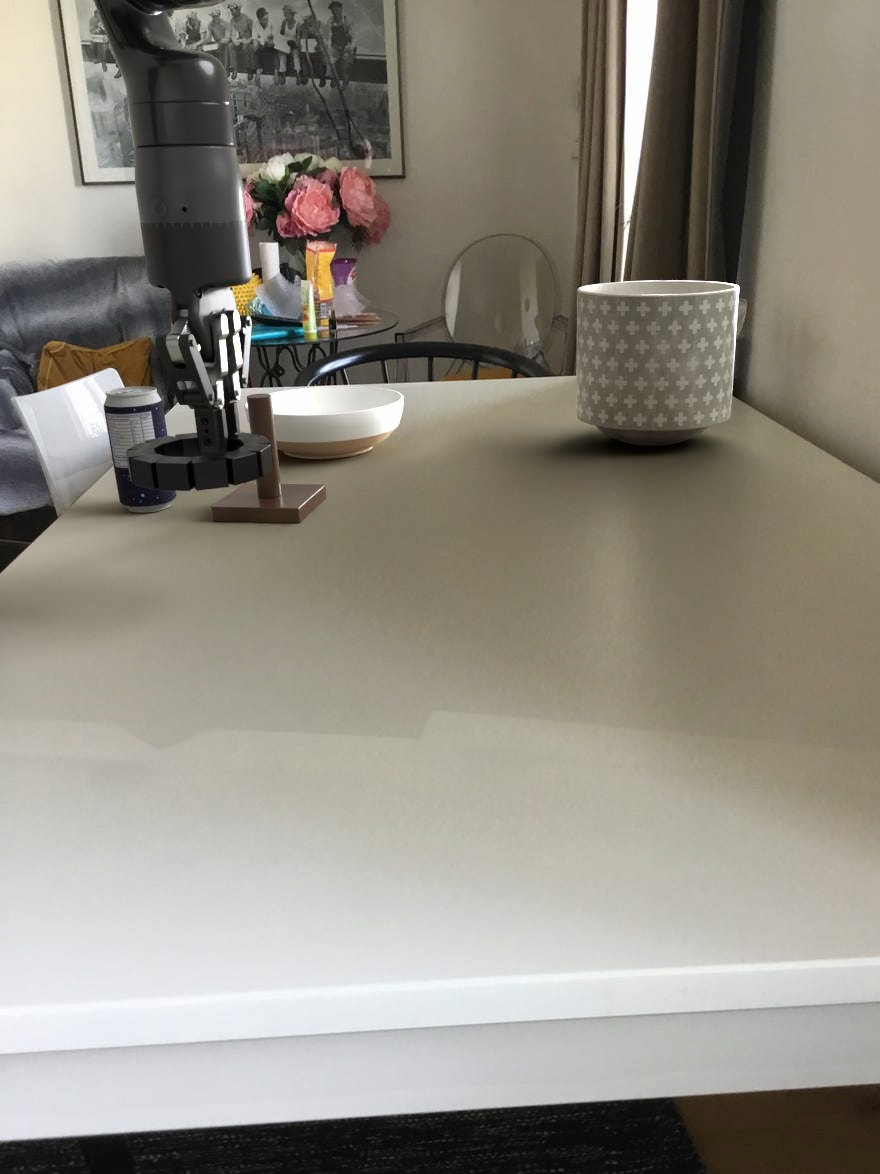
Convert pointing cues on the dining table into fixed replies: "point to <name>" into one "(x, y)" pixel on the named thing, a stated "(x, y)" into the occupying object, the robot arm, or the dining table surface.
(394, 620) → the dining table surface
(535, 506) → the dining table surface
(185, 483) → the ring
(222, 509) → the stand
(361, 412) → the bowl
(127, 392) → the beverage can
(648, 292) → the planter
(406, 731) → the dining table surface
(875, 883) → the dining table surface
